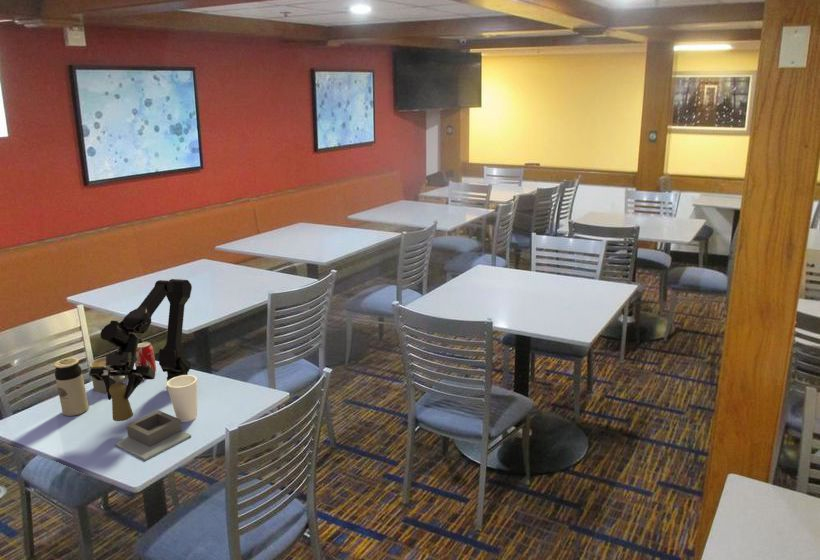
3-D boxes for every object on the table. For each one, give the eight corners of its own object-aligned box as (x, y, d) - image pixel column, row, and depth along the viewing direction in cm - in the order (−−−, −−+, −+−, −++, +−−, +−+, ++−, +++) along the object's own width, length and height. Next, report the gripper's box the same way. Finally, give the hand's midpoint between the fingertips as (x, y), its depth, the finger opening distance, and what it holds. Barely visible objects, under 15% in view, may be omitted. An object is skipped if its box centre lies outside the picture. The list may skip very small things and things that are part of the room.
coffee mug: (87, 391, 240) (83, 365, 237) (108, 379, 249) (104, 355, 246) (116, 396, 236) (112, 370, 233) (137, 384, 244) (133, 359, 241)
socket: (160, 423, 216) (158, 410, 214) (191, 436, 207) (189, 423, 205) (114, 445, 203) (112, 431, 202) (145, 460, 194) (143, 446, 193)
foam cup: (207, 416, 219) (202, 380, 215) (181, 427, 212) (175, 390, 209) (192, 407, 225) (187, 372, 221) (166, 418, 219) (161, 382, 215)
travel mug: (82, 403, 231) (72, 355, 226) (93, 409, 226) (83, 360, 221) (58, 412, 225) (48, 363, 220) (69, 419, 220) (59, 369, 215)
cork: (120, 423, 205) (114, 390, 202) (108, 418, 208) (102, 386, 205) (137, 414, 210) (131, 382, 207) (125, 410, 213) (119, 378, 210)
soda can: (133, 375, 252) (127, 346, 248) (147, 368, 258) (143, 339, 254) (146, 379, 248) (141, 349, 245) (161, 371, 254) (156, 342, 251)
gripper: (86, 343, 206) (75, 392, 199) (145, 341, 206) (137, 390, 198) (102, 356, 216) (92, 403, 209) (159, 354, 216) (151, 401, 208)
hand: (117, 399), depth 206 cm, fingers closed on cork, 5 cm apart
